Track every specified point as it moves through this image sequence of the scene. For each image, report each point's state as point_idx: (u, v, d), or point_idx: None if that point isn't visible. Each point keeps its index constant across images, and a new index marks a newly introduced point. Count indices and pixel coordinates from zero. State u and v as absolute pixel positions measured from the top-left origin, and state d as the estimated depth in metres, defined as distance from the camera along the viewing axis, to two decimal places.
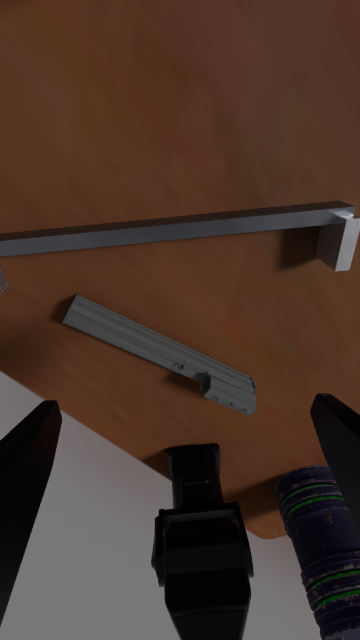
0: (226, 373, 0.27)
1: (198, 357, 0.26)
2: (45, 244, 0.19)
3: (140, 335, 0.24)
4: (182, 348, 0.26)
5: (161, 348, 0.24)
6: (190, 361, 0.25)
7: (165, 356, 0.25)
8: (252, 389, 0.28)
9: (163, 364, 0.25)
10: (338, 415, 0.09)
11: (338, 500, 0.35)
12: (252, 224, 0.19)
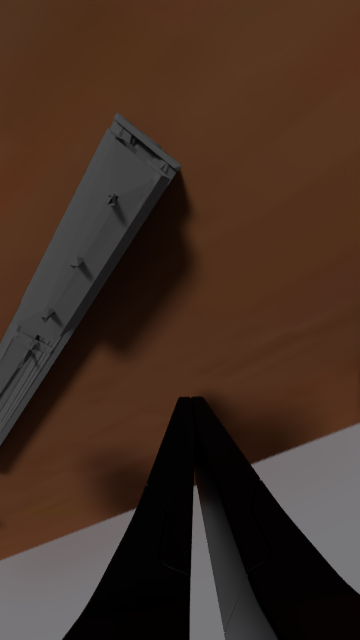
0: None
1: None
2: None
3: None
4: None
5: None
6: (13, 330, 0.10)
7: (10, 375, 0.11)
8: None
9: (35, 379, 0.11)
10: (195, 419, 0.08)
11: None
12: None
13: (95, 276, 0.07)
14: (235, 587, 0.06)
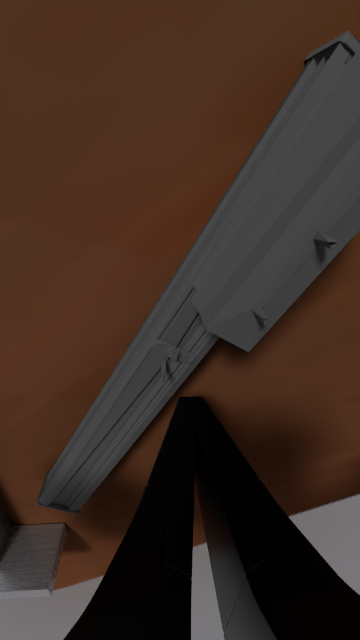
0: (230, 206, 0.07)
1: (165, 297, 0.09)
2: None
3: None
4: (138, 334, 0.10)
5: (115, 398, 0.10)
6: (153, 338, 0.09)
7: (139, 390, 0.10)
8: (334, 65, 0.05)
9: (166, 394, 0.10)
10: (195, 419, 0.08)
11: None
12: None
13: (330, 258, 0.05)
14: (234, 587, 0.06)
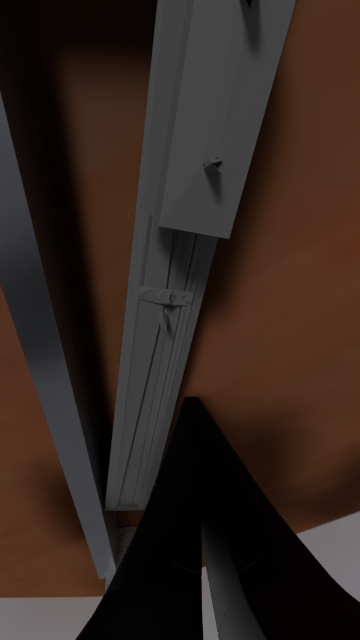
0: None
1: None
2: (94, 531, 0.13)
3: None
4: None
5: (128, 373, 0.09)
6: (135, 287, 0.07)
7: (150, 356, 0.08)
8: None
9: (181, 351, 0.08)
10: (190, 420, 0.08)
11: None
12: (6, 220, 0.06)
13: (284, 30, 0.03)
14: (227, 588, 0.06)
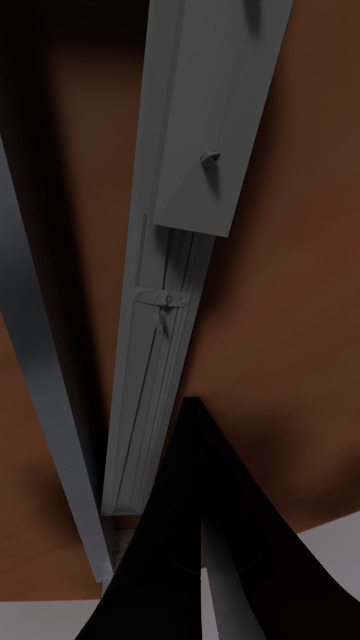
0: None
1: None
2: (91, 535, 0.13)
3: None
4: None
5: (123, 376, 0.08)
6: (130, 287, 0.07)
7: (146, 359, 0.08)
8: None
9: (178, 354, 0.08)
10: (191, 420, 0.08)
11: None
12: None
13: (286, 12, 0.03)
14: (228, 587, 0.06)
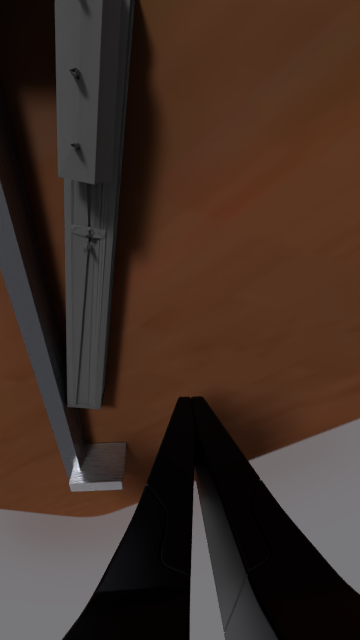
0: None
1: None
2: (59, 426, 0.18)
3: None
4: None
5: (71, 288, 0.13)
6: (69, 225, 0.12)
7: (84, 275, 0.13)
8: None
9: (104, 273, 0.13)
10: (195, 419, 0.08)
11: None
12: None
13: (97, 87, 0.08)
14: (235, 587, 0.06)
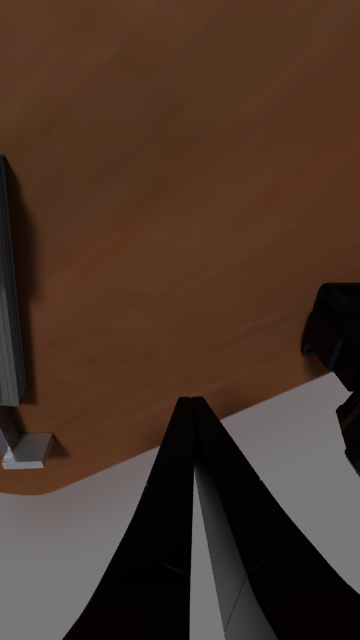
0: None
1: None
2: None
3: None
4: None
5: None
6: None
7: None
8: None
9: (4, 314, 0.19)
10: (195, 419, 0.08)
11: None
12: None
13: None
14: (235, 587, 0.06)
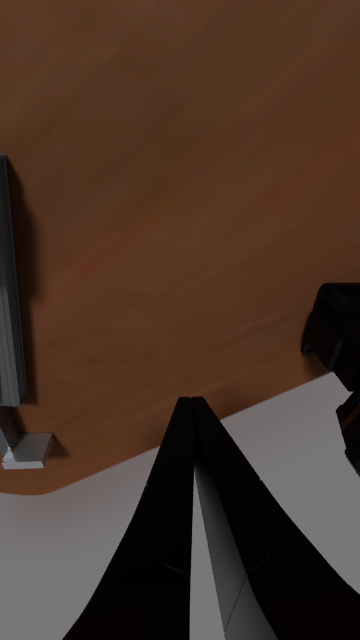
0: None
1: None
2: None
3: None
4: None
5: None
6: None
7: None
8: None
9: (5, 314, 0.19)
10: (195, 419, 0.08)
11: None
12: None
13: None
14: (235, 587, 0.06)
